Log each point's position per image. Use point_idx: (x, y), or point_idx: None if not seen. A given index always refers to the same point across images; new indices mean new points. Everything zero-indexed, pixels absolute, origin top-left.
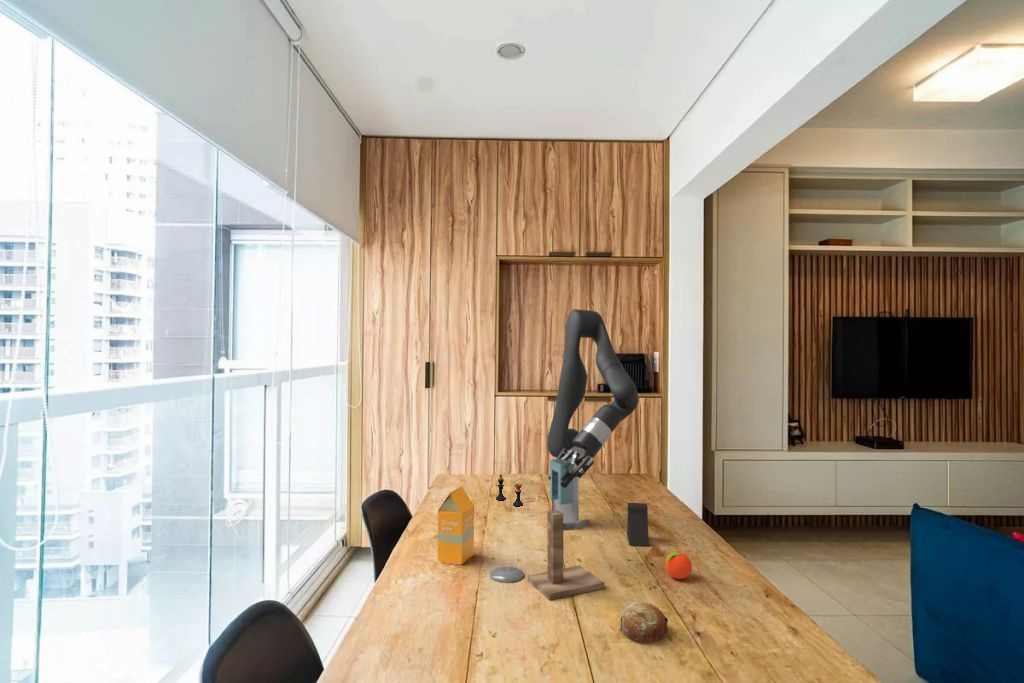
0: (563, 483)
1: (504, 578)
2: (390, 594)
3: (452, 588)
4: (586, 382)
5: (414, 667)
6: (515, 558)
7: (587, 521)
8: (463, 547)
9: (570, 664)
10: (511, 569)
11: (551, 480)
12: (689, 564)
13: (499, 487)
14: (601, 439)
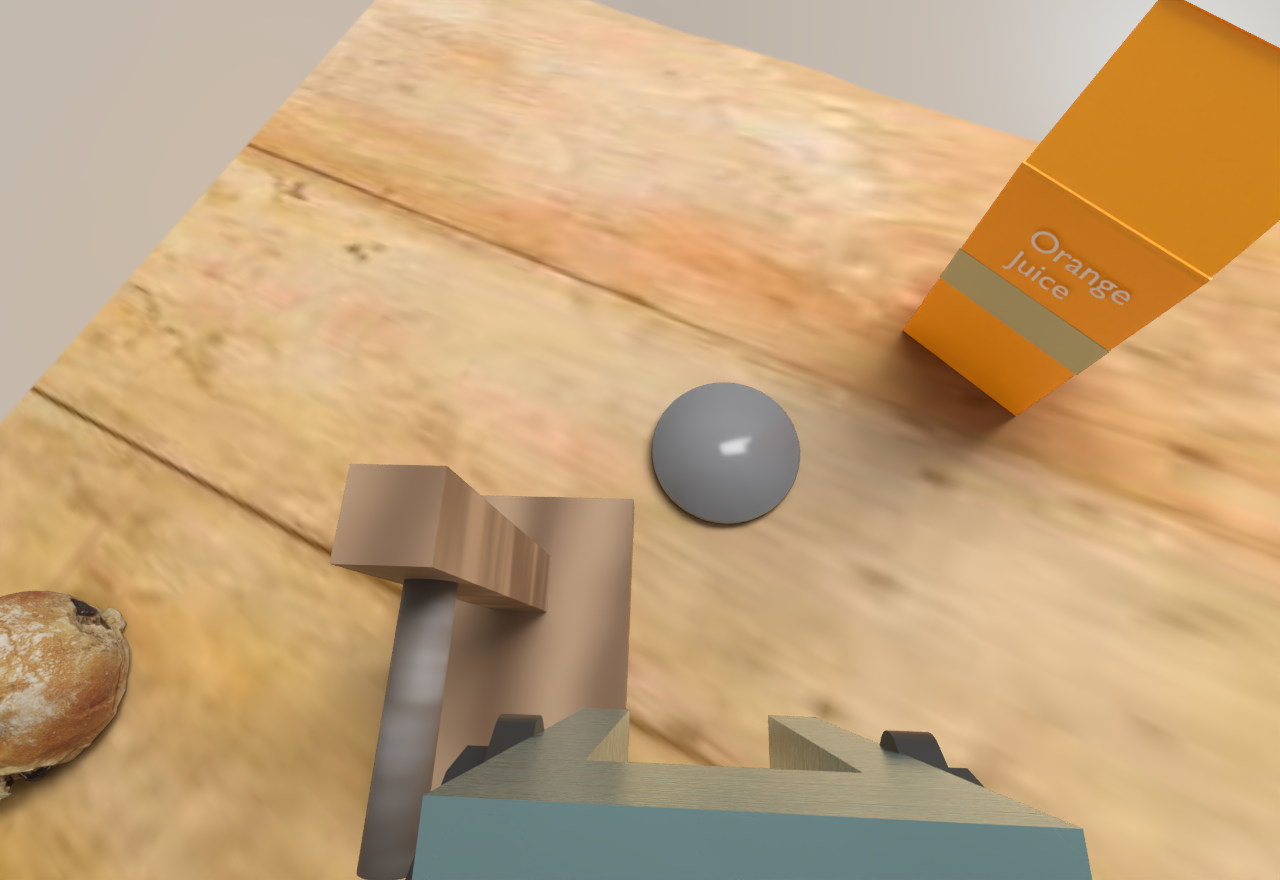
0: (469, 747)
1: (681, 419)
2: (745, 82)
3: (704, 241)
4: None
5: (346, 65)
6: (900, 575)
7: (364, 850)
8: (948, 304)
9: (103, 362)
10: (755, 484)
11: (828, 742)
12: None
13: None
14: None
